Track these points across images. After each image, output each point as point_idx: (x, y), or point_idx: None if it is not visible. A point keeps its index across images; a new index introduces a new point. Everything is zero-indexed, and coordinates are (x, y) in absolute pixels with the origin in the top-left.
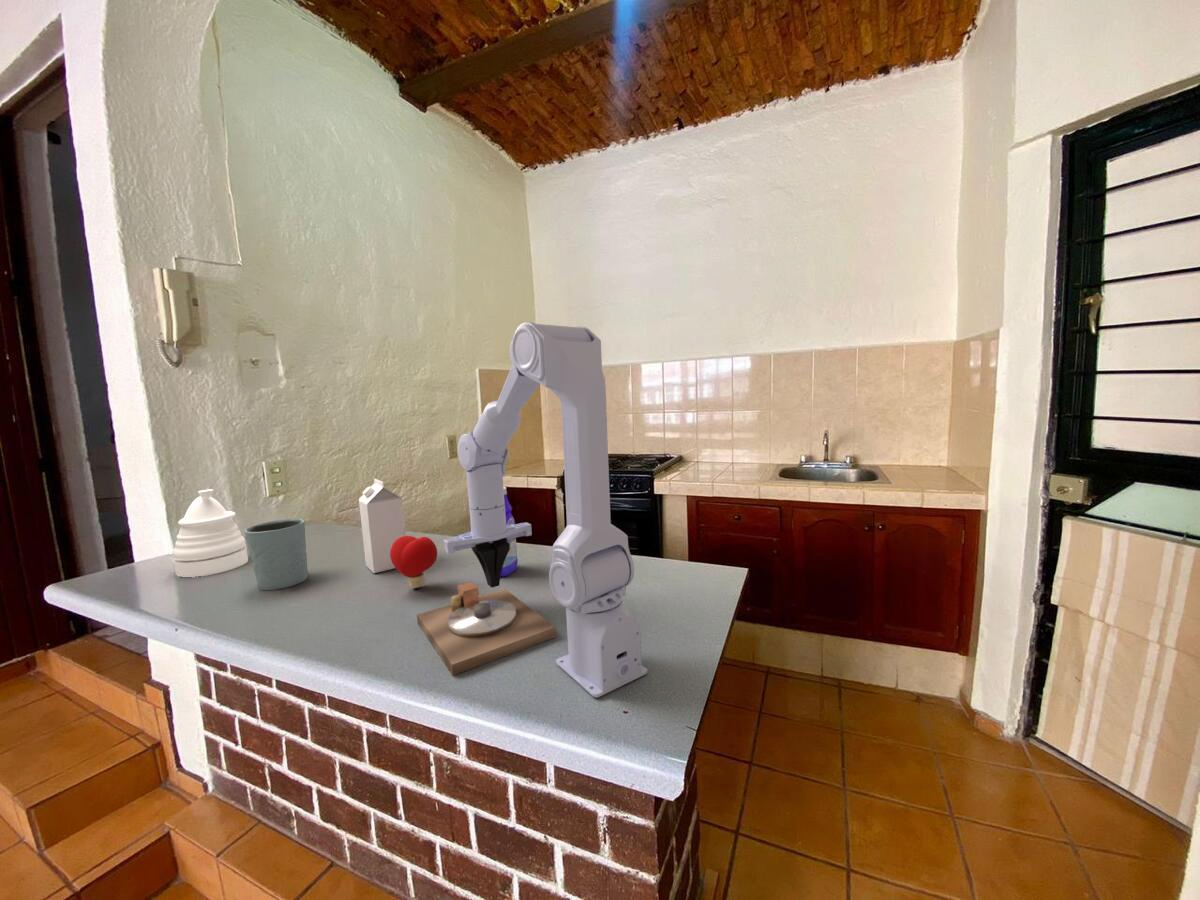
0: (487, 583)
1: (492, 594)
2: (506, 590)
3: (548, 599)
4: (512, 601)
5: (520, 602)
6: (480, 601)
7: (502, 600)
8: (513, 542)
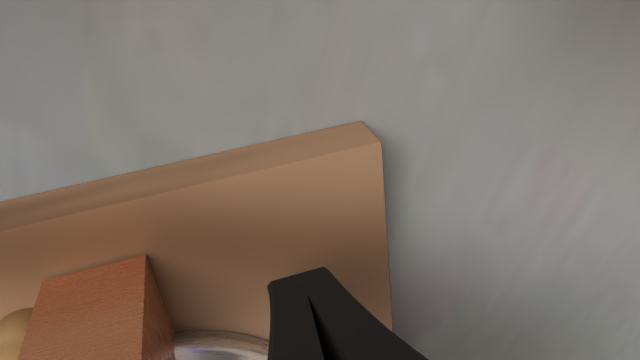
0: (268, 292)
1: (284, 194)
2: (379, 168)
3: (514, 238)
4: None
5: None
6: (186, 358)
7: None
8: None
